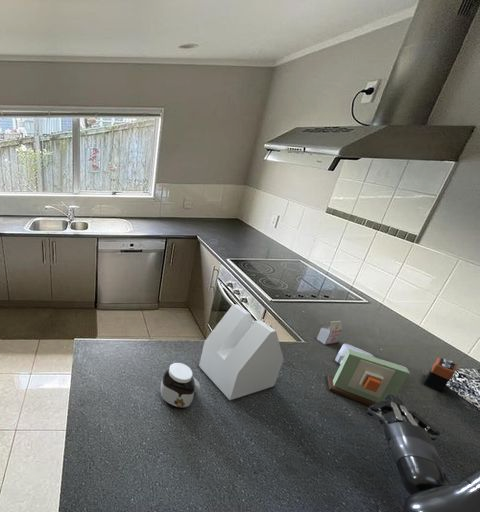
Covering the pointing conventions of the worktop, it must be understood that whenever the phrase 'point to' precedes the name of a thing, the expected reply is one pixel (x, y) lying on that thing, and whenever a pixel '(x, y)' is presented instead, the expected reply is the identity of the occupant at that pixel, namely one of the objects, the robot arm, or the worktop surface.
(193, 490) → the worktop surface
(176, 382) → the spread jar
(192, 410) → the worktop surface
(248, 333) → the white grooved wedge block
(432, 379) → the battery
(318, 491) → the worktop surface
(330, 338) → the small printed carton
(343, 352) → the charger
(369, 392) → the wall panel
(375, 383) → the switch
